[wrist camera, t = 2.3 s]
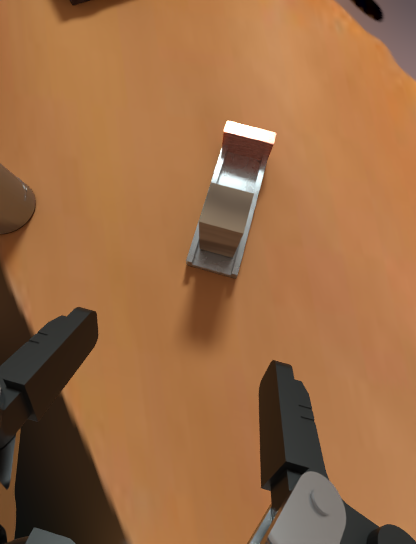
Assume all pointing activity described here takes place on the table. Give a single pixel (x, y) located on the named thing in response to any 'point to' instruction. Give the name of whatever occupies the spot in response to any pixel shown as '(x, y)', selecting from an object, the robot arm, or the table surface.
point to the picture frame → (77, 1)
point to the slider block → (223, 219)
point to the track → (240, 175)
